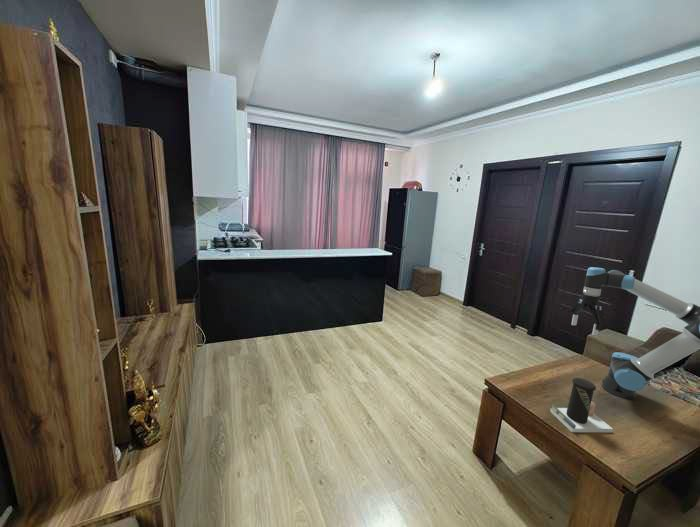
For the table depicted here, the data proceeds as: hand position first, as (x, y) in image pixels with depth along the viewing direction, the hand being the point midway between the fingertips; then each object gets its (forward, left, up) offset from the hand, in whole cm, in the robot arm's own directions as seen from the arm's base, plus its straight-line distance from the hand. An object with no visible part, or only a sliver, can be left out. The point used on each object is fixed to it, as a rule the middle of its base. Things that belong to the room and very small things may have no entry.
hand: (583, 329), depth 163 cm
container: (+22, +29, -35) cm, 50 cm away
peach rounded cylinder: (+13, +25, -34) cm, 45 cm away
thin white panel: (+20, +29, -36) cm, 51 cm away
